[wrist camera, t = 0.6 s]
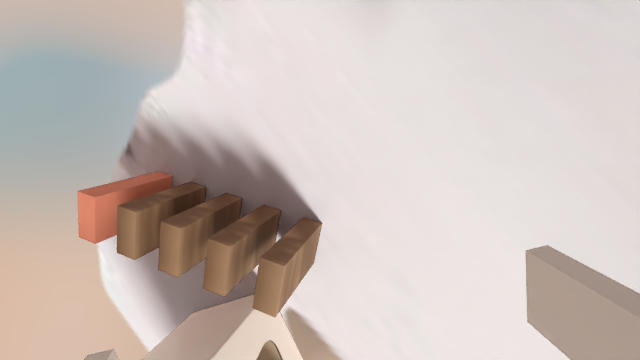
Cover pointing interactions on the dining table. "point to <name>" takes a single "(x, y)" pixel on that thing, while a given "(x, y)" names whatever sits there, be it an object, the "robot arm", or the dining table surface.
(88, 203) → the domino
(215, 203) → the domino
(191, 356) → the gable box
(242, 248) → the domino
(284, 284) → the domino
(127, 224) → the domino
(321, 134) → the dining table surface
